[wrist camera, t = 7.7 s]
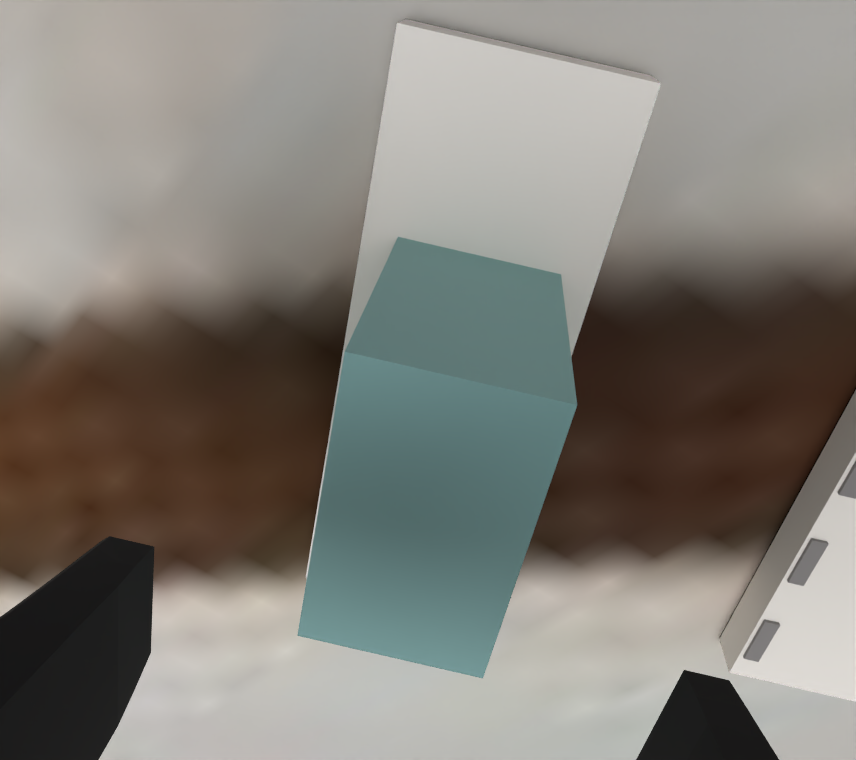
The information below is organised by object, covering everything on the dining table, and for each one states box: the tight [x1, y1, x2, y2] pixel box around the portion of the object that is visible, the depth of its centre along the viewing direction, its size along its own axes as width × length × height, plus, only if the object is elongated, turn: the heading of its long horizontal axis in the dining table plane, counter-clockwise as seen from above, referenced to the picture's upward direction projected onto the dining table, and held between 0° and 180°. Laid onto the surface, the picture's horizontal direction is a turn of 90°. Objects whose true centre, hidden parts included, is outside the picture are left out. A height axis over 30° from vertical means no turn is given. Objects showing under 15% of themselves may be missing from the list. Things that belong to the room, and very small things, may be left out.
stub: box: [298, 19, 661, 678], centre depth 16 cm, size 5×14×7 cm, turn 169°
